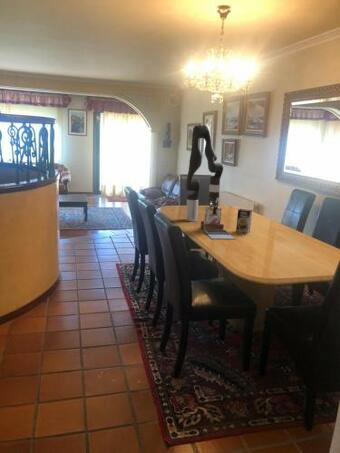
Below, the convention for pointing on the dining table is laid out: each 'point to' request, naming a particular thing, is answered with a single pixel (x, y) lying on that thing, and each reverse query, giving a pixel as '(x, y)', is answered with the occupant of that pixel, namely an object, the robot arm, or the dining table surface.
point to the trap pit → (216, 232)
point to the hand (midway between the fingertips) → (212, 213)
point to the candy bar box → (212, 216)
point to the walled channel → (212, 226)
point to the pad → (221, 237)
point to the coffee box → (244, 220)
